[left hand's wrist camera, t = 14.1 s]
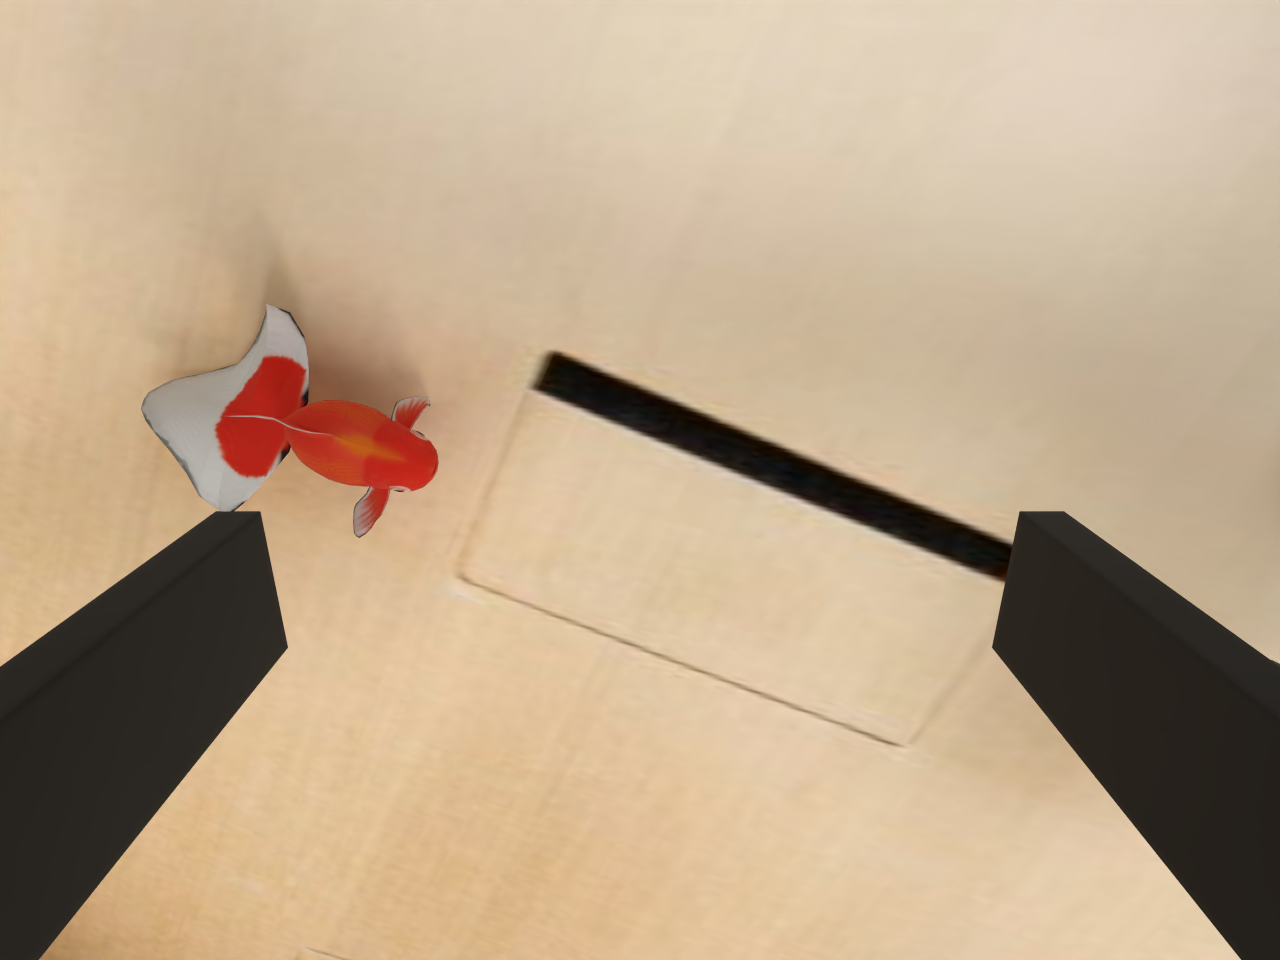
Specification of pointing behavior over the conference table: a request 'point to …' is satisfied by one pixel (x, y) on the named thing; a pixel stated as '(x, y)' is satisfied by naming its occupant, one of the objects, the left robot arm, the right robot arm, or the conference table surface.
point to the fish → (285, 428)
